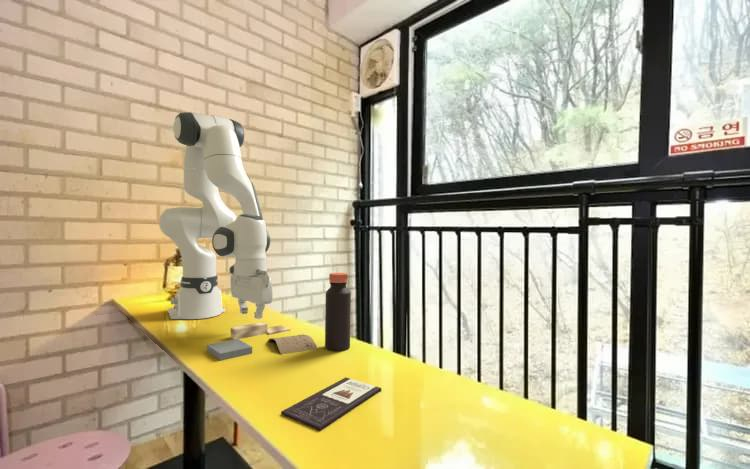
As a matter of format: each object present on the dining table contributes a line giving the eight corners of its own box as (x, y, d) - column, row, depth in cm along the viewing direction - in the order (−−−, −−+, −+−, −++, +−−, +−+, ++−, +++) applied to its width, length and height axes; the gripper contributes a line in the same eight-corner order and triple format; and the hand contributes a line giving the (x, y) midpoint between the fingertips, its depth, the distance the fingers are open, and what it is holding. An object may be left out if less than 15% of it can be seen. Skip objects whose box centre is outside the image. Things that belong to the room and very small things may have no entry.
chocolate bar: (281, 411, 63) (345, 377, 78) (281, 416, 63) (345, 381, 78) (320, 427, 58) (381, 388, 73) (320, 433, 58) (381, 392, 73)
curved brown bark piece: (266, 342, 104) (266, 333, 104) (300, 337, 110) (300, 328, 110) (281, 358, 92) (282, 348, 92) (319, 352, 97) (319, 342, 97)
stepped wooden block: (236, 341, 104) (236, 330, 104) (228, 336, 108) (228, 326, 108) (290, 330, 115) (290, 321, 115) (280, 327, 120) (281, 317, 120)
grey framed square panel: (207, 344, 95) (220, 353, 88) (237, 338, 100) (252, 346, 94) (206, 352, 95) (220, 362, 88) (237, 346, 100) (252, 355, 94)
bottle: (355, 347, 100) (356, 273, 99) (336, 353, 95) (337, 276, 95) (338, 341, 104) (339, 271, 104) (319, 347, 99) (320, 273, 99)
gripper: (278, 270, 103) (278, 319, 103) (246, 266, 118) (246, 309, 118) (257, 271, 99) (257, 323, 99) (226, 267, 114) (226, 312, 114)
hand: (250, 315), depth 109 cm, fingers open, 8 cm apart
